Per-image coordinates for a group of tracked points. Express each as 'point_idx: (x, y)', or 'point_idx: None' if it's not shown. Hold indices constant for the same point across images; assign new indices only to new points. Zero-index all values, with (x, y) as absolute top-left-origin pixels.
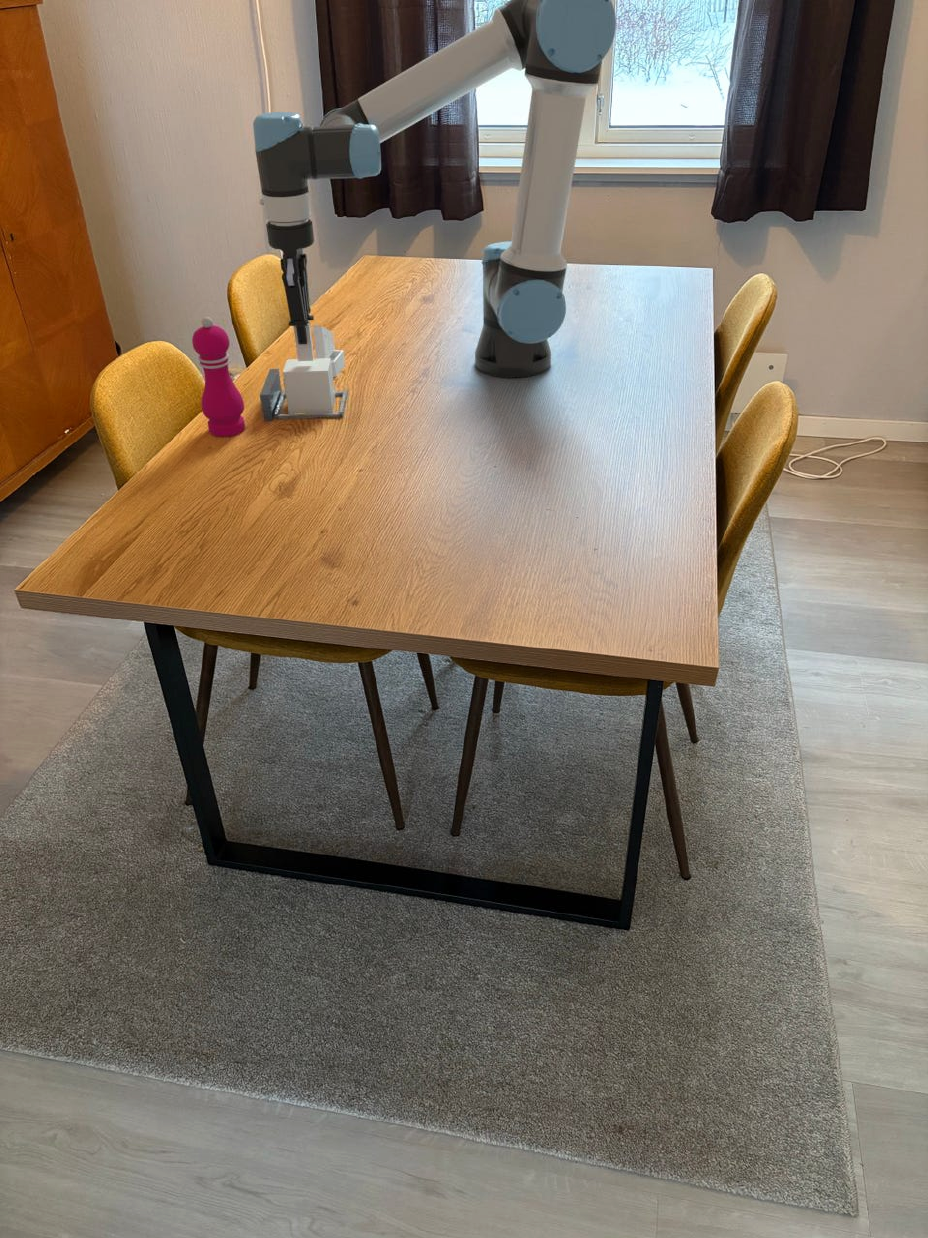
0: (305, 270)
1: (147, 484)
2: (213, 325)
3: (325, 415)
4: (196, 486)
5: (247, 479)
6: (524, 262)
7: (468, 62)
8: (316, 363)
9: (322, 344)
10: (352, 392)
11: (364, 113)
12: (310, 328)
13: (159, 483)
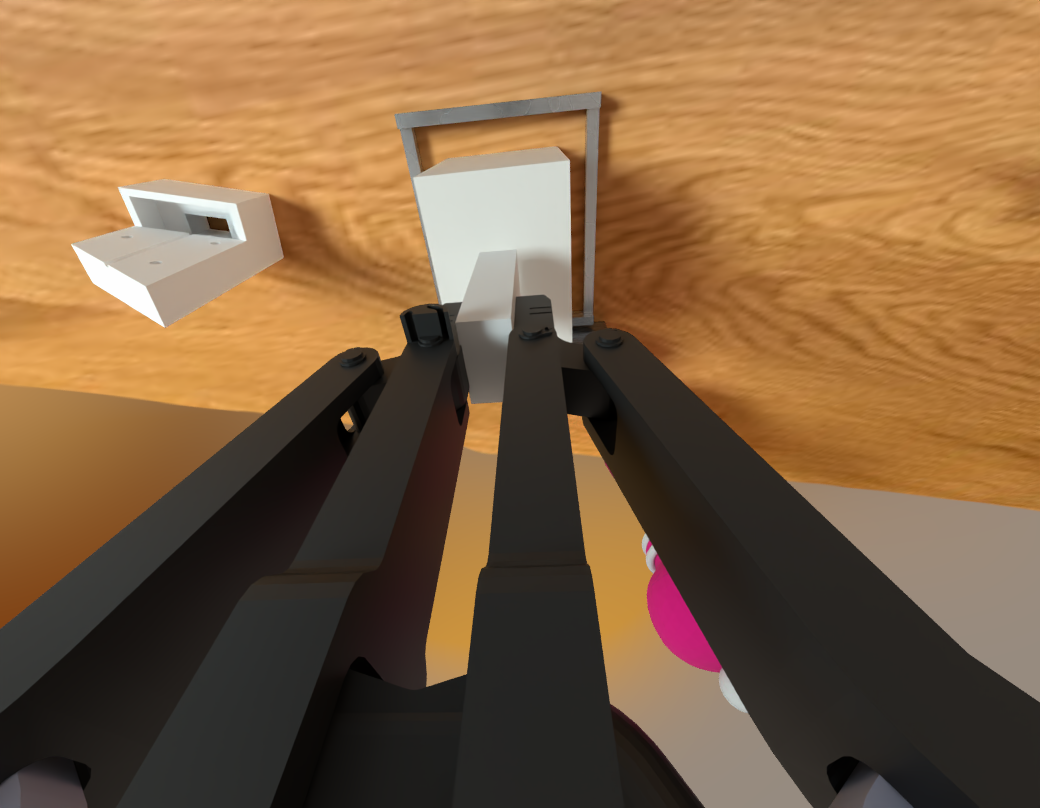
0: (283, 776)
1: (841, 471)
2: (711, 655)
3: (597, 165)
4: (898, 400)
5: (928, 309)
6: None
7: None
8: (484, 237)
9: (209, 265)
10: (380, 95)
11: None
12: (468, 304)
13: (847, 456)
